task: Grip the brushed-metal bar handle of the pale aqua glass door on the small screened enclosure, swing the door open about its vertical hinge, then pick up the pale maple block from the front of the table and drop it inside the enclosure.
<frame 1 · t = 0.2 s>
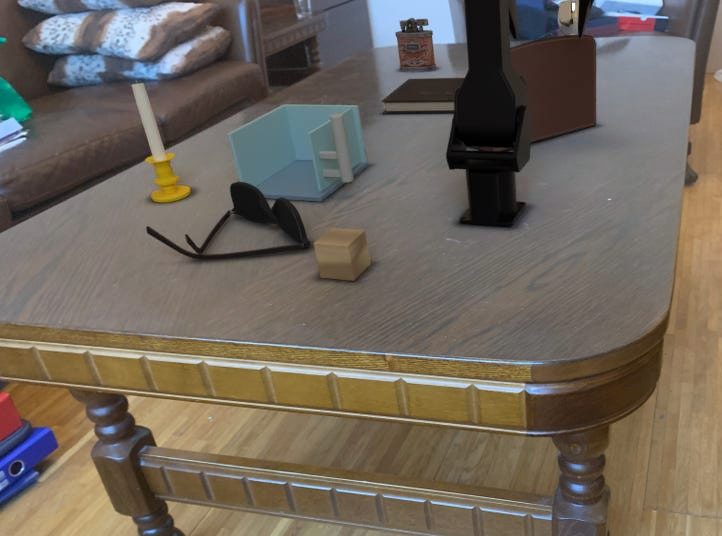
hand: (548, 37, 105), 15 cm above the table, tool pointing down, fingers open, 9 cm apart
hardcover book: (458, 101, 137), on the table
sunglasses: (228, 249, 89), on the table
block: (346, 271, 81), on the table
lighter: (418, 70, 162), on the table
letter holder: (527, 134, 118), on the table
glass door: (348, 142, 101), point 6 cm above the table, hinge at 0.0°
candle: (172, 197, 106), on the table
wineglass: (572, 67, 153), on the table
enclosure: (307, 180, 107), on the table
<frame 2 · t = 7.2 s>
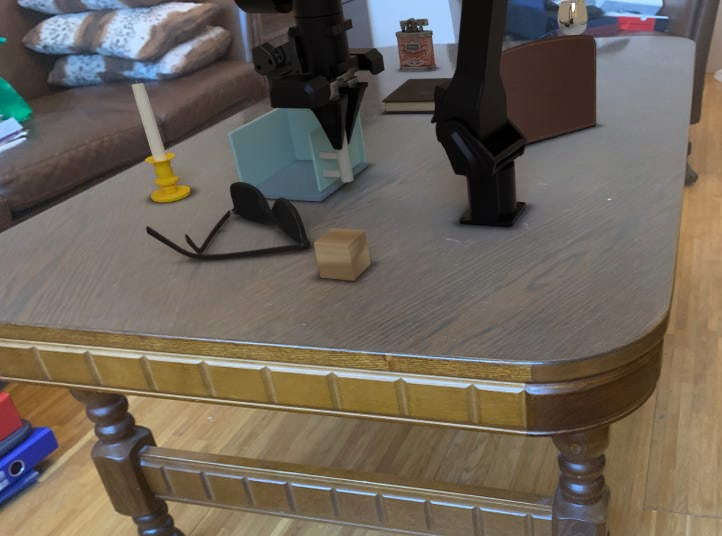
hand: (341, 146, 97), 7 cm above the table, tool pointing down, fingers closed on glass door, 2 cm apart
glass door: (348, 142, 101), point 6 cm above the table, hinge at 0.0°, touching gripper
everything else where it was.
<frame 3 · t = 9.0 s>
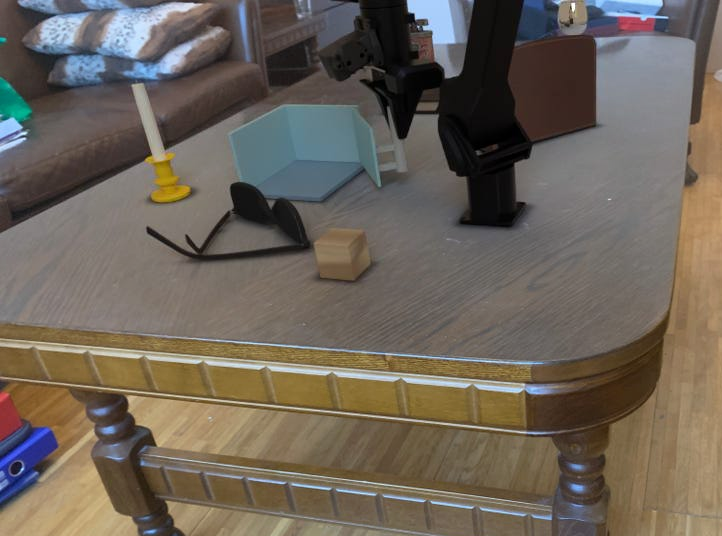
hand: (399, 137, 99), 6 cm above the table, tool pointing down, fingers closed on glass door, 2 cm apart
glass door: (379, 136, 102), point 6 cm above the table, hinge at 38.5°, touching gripper
everything else where it was.
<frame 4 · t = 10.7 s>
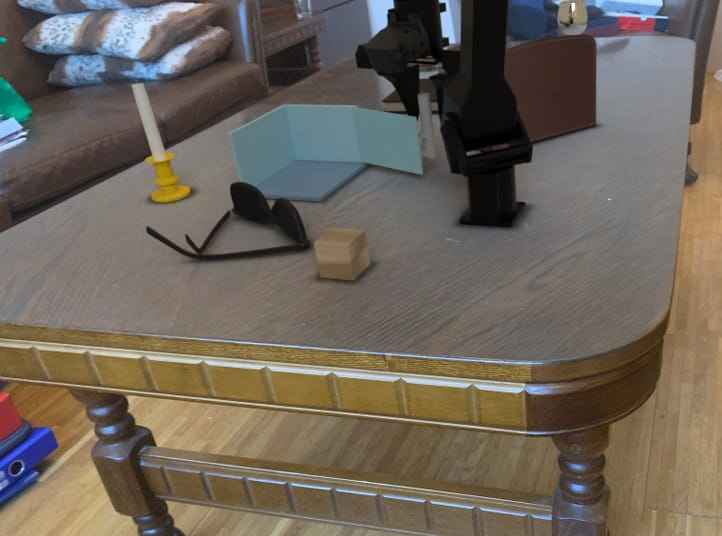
hand: (429, 123, 103), 6 cm above the table, tool pointing down, fingers open, 5 cm apart
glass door: (397, 129, 104), point 6 cm above the table, hinge at 70.0°
everything else where it was.
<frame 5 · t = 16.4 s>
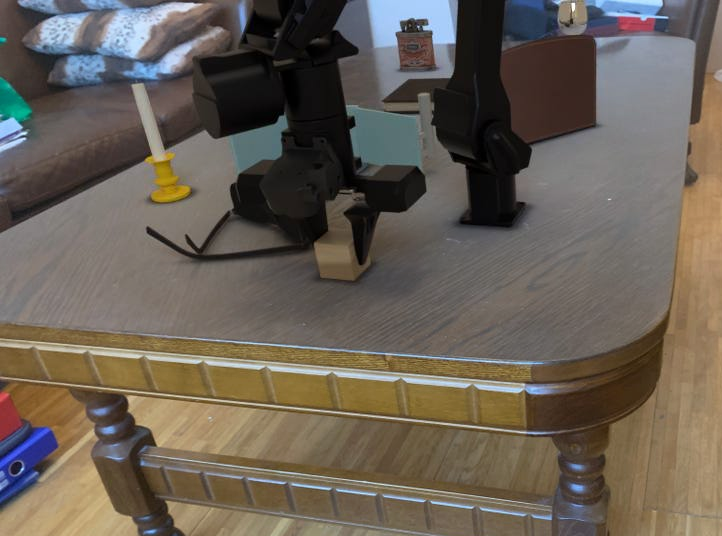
hand: (344, 262, 81), 1 cm above the table, tool pointing down, fingers closed on block, 4 cm apart
block: (346, 271, 81), on the table, touching gripper
everything else where it was.
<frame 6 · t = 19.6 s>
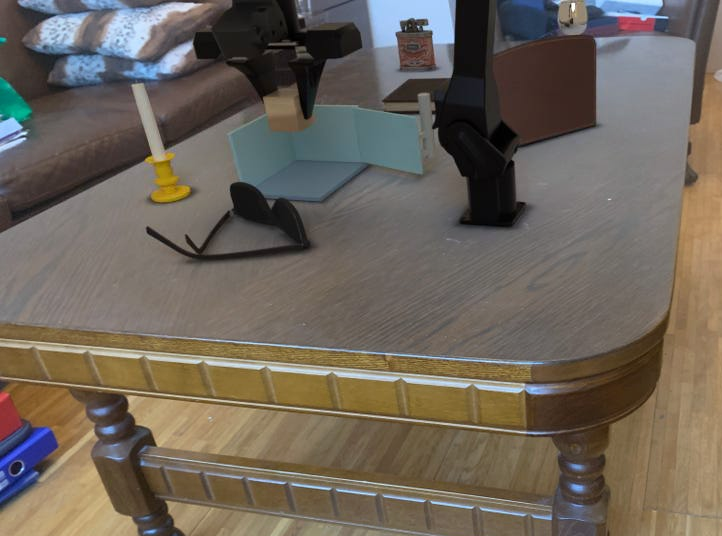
hand: (291, 118, 90), 12 cm above the table, tool pointing down, fingers closed on block, 4 cm apart
block: (293, 127, 91), point 11 cm above the table, touching gripper
everything else where it was.
when the fingers open (4 cm above the table, at t = 22.7 s): block drops 3 cm, resting on enclosure.
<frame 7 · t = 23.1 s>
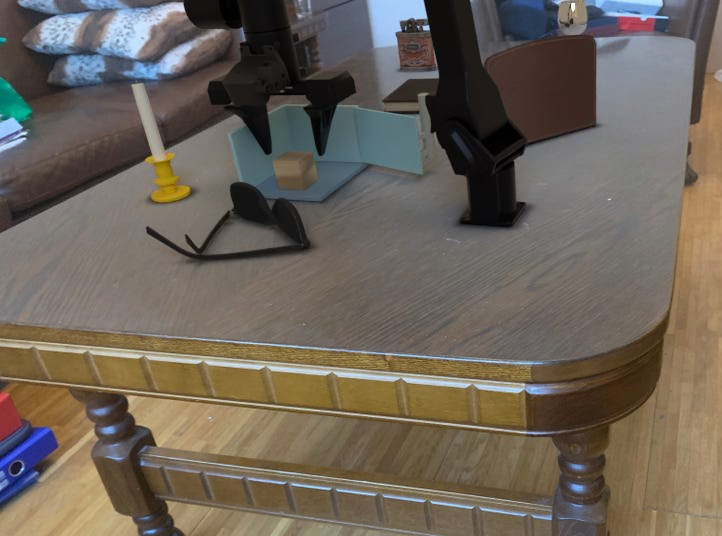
hand: (295, 154, 101), 5 cm above the table, tool pointing down, fingers open, 8 cm apart
block: (298, 184, 104), point 1 cm above the table, touching enclosure
everything else where it was.
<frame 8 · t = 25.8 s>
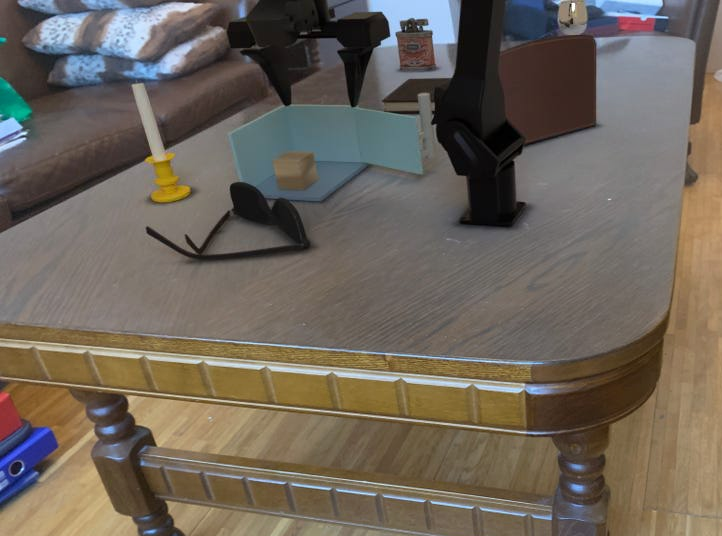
hand: (320, 106, 93), 12 cm above the table, tool pointing down, fingers open, 9 cm apart
nothing on the table moved.
at the end: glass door at +70° (first picture: +0°); block inside the target area on the enclosure (2.9 cm from its centre), point 0.6 cm above the enclosure's base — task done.
